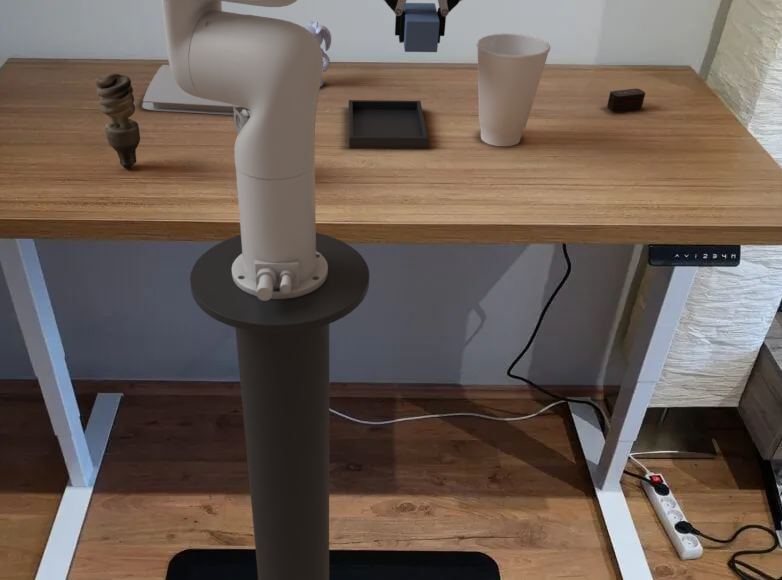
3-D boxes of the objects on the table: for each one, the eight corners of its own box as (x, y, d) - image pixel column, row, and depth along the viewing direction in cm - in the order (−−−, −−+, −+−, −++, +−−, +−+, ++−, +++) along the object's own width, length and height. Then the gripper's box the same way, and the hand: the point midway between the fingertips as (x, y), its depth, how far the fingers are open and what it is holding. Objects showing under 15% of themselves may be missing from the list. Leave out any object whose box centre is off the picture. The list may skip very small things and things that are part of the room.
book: (161, 81, 162) (159, 61, 160) (273, 87, 160) (272, 67, 158) (137, 109, 151) (134, 88, 148) (257, 116, 148) (256, 95, 146)
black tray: (427, 148, 138) (427, 138, 137) (349, 148, 138) (349, 137, 137) (419, 110, 151) (420, 100, 150) (348, 109, 151) (348, 99, 150)
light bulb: (103, 170, 131) (85, 76, 121) (124, 157, 134) (108, 65, 125) (131, 177, 129) (116, 82, 119) (152, 163, 133) (138, 71, 123)
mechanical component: (256, 191, 125) (252, 129, 119) (235, 165, 132) (230, 105, 126) (274, 187, 126) (271, 125, 120) (252, 162, 133) (248, 102, 127)
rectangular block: (437, 52, 124) (439, 21, 121) (404, 51, 124) (406, 21, 121) (432, 32, 131) (434, 3, 129) (402, 32, 132) (403, 2, 129)
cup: (487, 156, 135) (500, 59, 125) (454, 130, 144) (464, 37, 134) (547, 146, 139) (565, 50, 129) (511, 121, 147) (525, 29, 137)
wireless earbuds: (646, 109, 152) (650, 92, 150) (613, 114, 150) (617, 96, 148) (632, 101, 155) (636, 84, 153) (599, 105, 154) (603, 88, 152)
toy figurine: (289, 83, 162) (287, 20, 154) (314, 76, 165) (313, 14, 157) (309, 92, 158) (308, 28, 150) (335, 86, 161) (335, 22, 153)
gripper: (369, -87, 113) (365, 47, 125) (490, -86, 113) (475, 48, 125) (368, -97, 119) (365, 32, 131) (484, -95, 119) (470, 33, 130)
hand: (419, 39), depth 127 cm, fingers closed on rectangular block, 5 cm apart
